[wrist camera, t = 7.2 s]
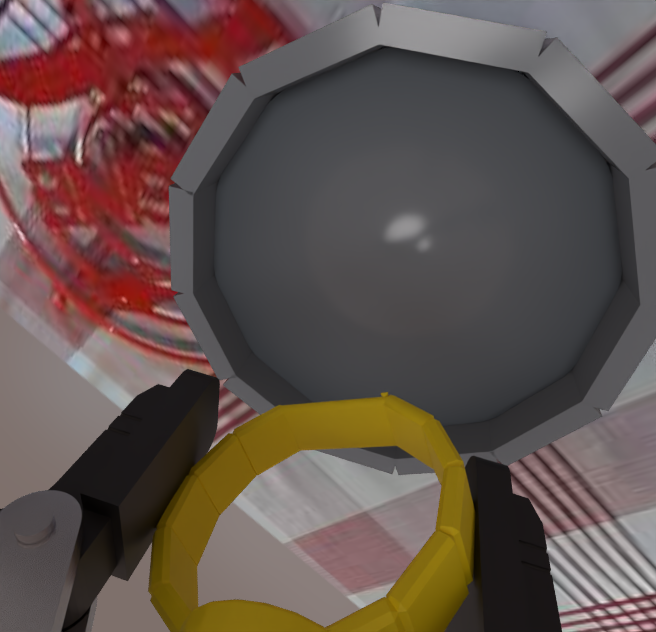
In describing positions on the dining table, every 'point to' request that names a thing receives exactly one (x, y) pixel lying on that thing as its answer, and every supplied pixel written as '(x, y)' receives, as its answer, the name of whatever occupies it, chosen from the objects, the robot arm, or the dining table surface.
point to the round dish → (421, 231)
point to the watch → (277, 445)
